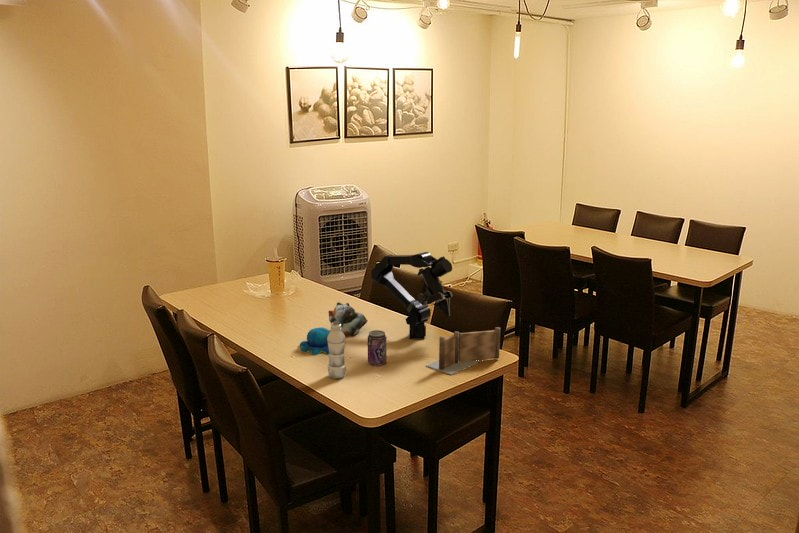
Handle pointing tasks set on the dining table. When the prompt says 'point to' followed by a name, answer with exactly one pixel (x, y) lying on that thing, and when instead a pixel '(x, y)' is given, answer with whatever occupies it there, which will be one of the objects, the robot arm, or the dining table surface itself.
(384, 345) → the beverage can
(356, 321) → the grey stuffed animal
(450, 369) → the card
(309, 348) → the plush toy
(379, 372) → the dining table surface
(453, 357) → the fence fixed
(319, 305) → the dining table surface
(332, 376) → the plastic bottle
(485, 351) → the fence panel
